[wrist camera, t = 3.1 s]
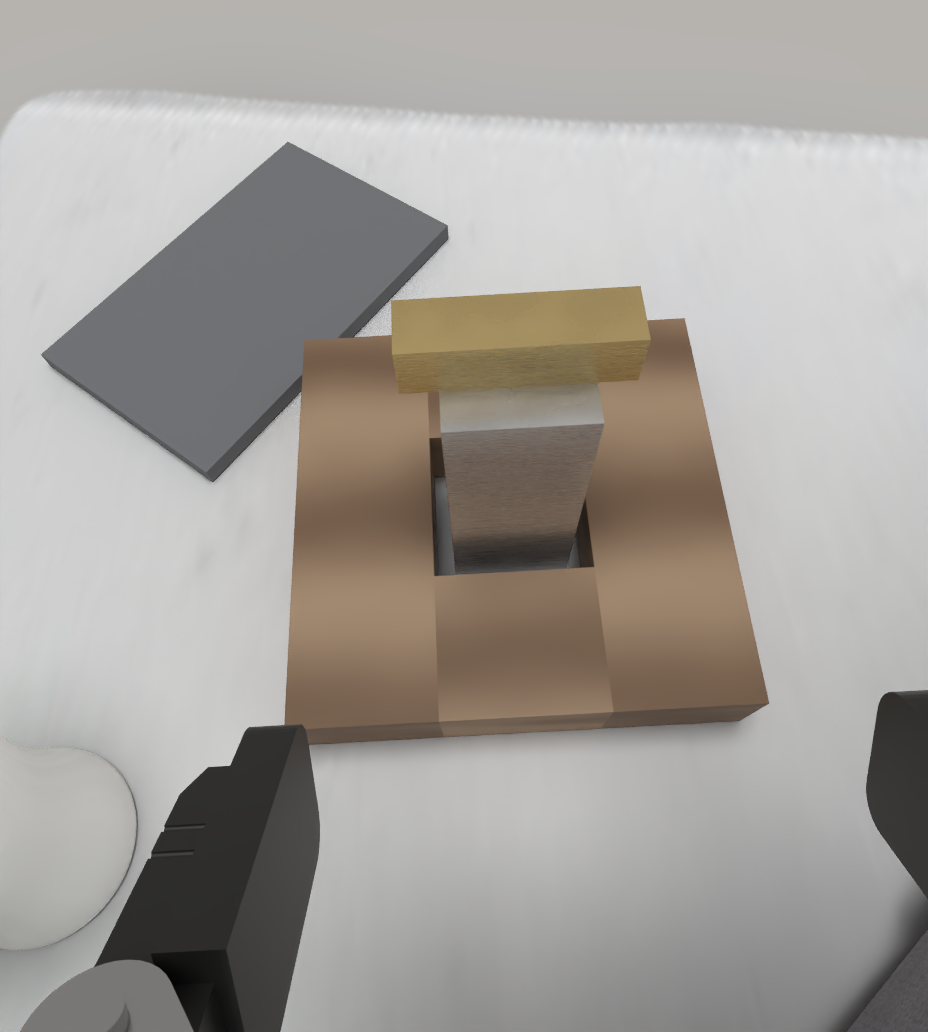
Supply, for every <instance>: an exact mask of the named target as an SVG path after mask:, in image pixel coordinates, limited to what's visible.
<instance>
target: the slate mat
mask: <svg viewBox="0 0 928 1032" xmlns="http://www.w3.org/2000/svg"><path fill="white" fill-rule="evenodd" d="M447 239H448V225H446V224H444V223H442V222H440V221H438V220H436V219H434V218H432V217H430V216H429V215H427V214H425V213H423V212H421V211H419V210H417V209H415V208H413V207H411V206H409V205H408V204H406V203H404V202H402V201H400V200H398V199H396V198H394V197H392V196H390V195H388V194H387V193H385V192H383V191H381V190H379V189H377V188H375V187H373V186H371V185H369V184H367V183H366V182H364V181H362V180H360V179H358V178H356V177H354V176H352V175H350V174H348V173H346V172H345V171H343V170H341V169H339V168H337V167H335V166H333V165H331V164H329V163H327V162H325V161H324V160H322V159H320V158H318V157H316V156H314V155H312V154H310V153H308V152H306V151H305V150H303V149H301V148H299V147H297V146H295V145H293V144H291V143H289V142H287V143H286V144H285V145H284V146H282V147H281V148H280V149H279V150H278V151H277V152H275V153H274V154H273V155H272V156H271V157H270V158H269V159H267V160H266V161H265V162H264V163H263V164H262V165H260V166H259V167H258V168H257V169H256V170H255V171H253V172H252V173H251V174H250V175H249V176H248V177H246V178H245V179H244V180H243V181H242V182H241V183H240V184H238V185H237V186H236V187H235V188H234V189H233V190H231V191H230V192H229V193H228V194H227V195H226V196H224V197H223V198H222V199H221V200H220V201H219V202H217V203H216V204H215V205H214V206H213V207H212V208H210V209H209V210H208V211H207V212H206V213H205V214H204V215H202V216H201V217H200V218H199V219H198V220H197V221H195V222H194V223H193V224H192V225H191V226H190V227H188V228H187V229H186V230H185V231H184V232H183V233H181V234H180V235H179V236H178V237H177V238H176V239H175V240H173V241H172V242H171V243H170V244H169V245H168V246H166V247H165V248H164V249H163V250H162V251H161V252H159V253H158V254H157V255H156V256H155V257H154V258H152V259H151V260H150V261H149V262H148V263H147V264H146V265H144V266H143V267H142V268H141V269H140V270H139V271H137V272H136V273H135V274H134V275H133V276H132V277H130V278H129V279H128V280H127V281H126V282H125V283H123V284H122V285H121V286H120V287H119V288H118V289H117V290H115V291H114V292H113V293H112V294H111V295H110V296H108V297H107V298H106V299H105V300H104V301H103V302H101V303H100V304H99V305H98V306H97V307H96V308H94V309H93V310H92V311H91V312H90V313H89V314H88V315H86V316H85V317H84V318H83V319H82V320H81V321H79V322H78V323H77V324H76V325H75V326H74V327H72V328H71V329H70V330H69V331H68V332H67V333H65V334H64V335H63V336H62V337H61V338H60V339H59V340H57V341H56V342H55V343H54V344H53V345H52V346H50V347H49V348H48V349H47V350H46V351H45V352H43V353H42V354H41V355H42V357H43V358H44V359H45V360H46V361H47V362H48V363H49V365H50V366H51V367H53V368H54V369H56V370H57V371H58V372H60V373H61V374H63V375H64V376H65V377H67V378H68V379H70V380H71V381H72V382H74V383H75V384H77V385H78V386H79V387H81V388H82V389H84V390H85V391H86V392H88V393H89V394H91V395H92V396H93V397H95V398H96V399H98V400H99V401H100V402H102V403H103V404H105V405H106V406H107V407H109V408H110V409H112V410H113V411H114V412H116V413H117V414H119V415H120V416H121V417H123V418H124V419H126V420H127V421H128V422H130V423H131V424H133V425H134V426H135V427H137V428H138V429H140V430H141V431H142V432H144V433H145V434H147V435H148V436H149V437H151V438H152V439H153V440H155V441H156V442H158V443H159V444H160V445H162V446H163V447H165V448H166V449H167V450H169V451H170V452H172V453H173V454H174V455H176V456H177V457H179V458H180V459H181V460H183V461H184V462H186V463H187V464H188V465H190V466H191V467H193V468H194V469H195V470H197V471H198V472H200V473H201V474H202V475H204V476H205V477H207V478H208V479H209V480H211V481H212V482H213V481H214V480H215V479H216V478H217V477H218V476H219V475H220V474H221V473H222V472H223V471H224V470H225V469H226V468H227V467H228V466H229V465H230V464H231V463H232V462H233V461H234V460H235V458H236V457H237V456H238V455H239V454H240V453H241V452H242V451H243V450H244V449H245V448H246V447H247V446H248V445H249V444H250V443H251V442H252V441H253V440H254V439H255V438H256V437H257V436H258V435H259V434H260V433H261V432H262V431H263V430H264V429H265V427H266V426H267V425H268V424H269V423H270V422H271V421H272V420H273V419H274V418H275V417H276V416H277V415H278V414H279V413H280V412H281V411H282V410H283V409H284V408H285V407H286V406H287V405H288V404H289V403H290V402H291V401H292V400H293V399H294V398H295V396H296V395H297V394H298V393H299V392H300V391H301V390H302V374H303V354H304V340H320V339H337V338H353V337H354V335H355V334H356V333H357V332H358V331H359V330H360V329H361V328H362V327H363V326H364V325H365V324H366V323H367V322H368V321H369V320H370V319H371V318H372V317H373V316H374V315H375V314H376V313H377V312H378V311H379V310H380V309H381V308H382V307H383V306H384V304H385V303H386V302H387V301H388V300H389V299H390V298H391V297H392V296H393V295H394V294H395V293H396V292H397V291H398V290H399V289H400V288H401V287H402V286H403V285H404V284H405V283H406V282H407V281H408V280H409V279H410V278H411V277H412V276H413V275H414V273H415V272H416V271H417V270H418V269H419V268H420V267H421V266H422V265H423V264H424V263H425V262H426V261H427V260H428V259H429V258H430V257H431V256H432V255H433V254H434V253H435V252H436V251H437V250H438V249H439V248H440V247H441V246H442V245H443V244H444V242H445V241H446V240H447Z"/></svg>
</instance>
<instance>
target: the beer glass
mask: <svg viewBox="0 0 928 1032" xmlns="http://www.w3.org/2000/svg"><path fill="white" fill-rule="evenodd" d="M136 833H137V818H136V810H135V805H134V801H133V797H132V794H131V792H130V790H129V787H128V785H127V784H126V782H125V780H124V779H123V777H122V776H121V774H120V773H119V772H118V771H117V770H116V769H115V768H114V767H113V766H112V765H111V764H110V763H109V762H107V761H106V760H105V759H103V758H102V757H100V756H98V755H96V754H94V753H91V752H89V751H86V750H82V749H77V748H71V747H42V748H23V747H21V746H18V745H17V744H15V743H14V742H12V741H10V740H9V739H7V738H6V737H4V736H3V735H1V734H0V949H4V950H28V949H35V948H40V947H44V946H47V945H50V944H53V943H55V942H57V941H60V940H62V939H64V938H66V937H68V936H69V935H71V934H73V933H75V932H76V931H78V930H79V929H81V928H82V927H83V926H85V925H86V924H87V923H89V922H90V921H91V920H92V919H93V918H94V917H95V916H96V915H97V914H98V913H99V912H100V911H101V910H102V909H103V908H104V907H105V906H106V905H107V903H108V902H109V901H110V900H111V898H112V897H113V895H114V894H115V892H116V891H117V889H118V888H119V886H120V884H121V882H122V881H123V879H124V877H125V874H126V872H127V870H128V867H129V865H130V862H131V859H132V855H133V852H134V847H135V841H136Z"/></svg>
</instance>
